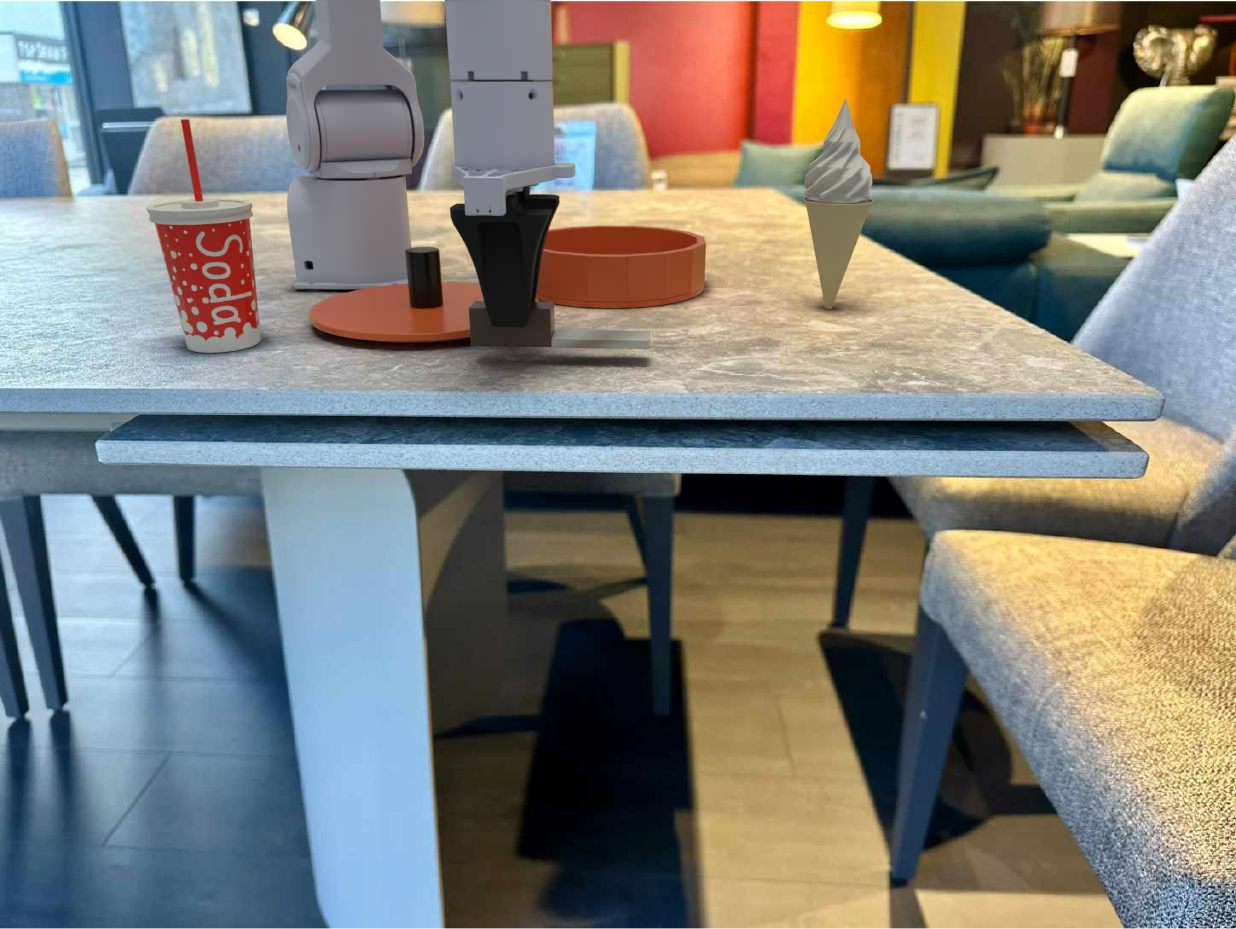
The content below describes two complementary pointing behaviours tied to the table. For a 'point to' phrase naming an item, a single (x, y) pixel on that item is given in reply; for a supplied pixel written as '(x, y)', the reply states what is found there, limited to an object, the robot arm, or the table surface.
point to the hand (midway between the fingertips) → (512, 320)
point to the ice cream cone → (837, 202)
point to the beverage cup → (209, 265)
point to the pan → (621, 266)
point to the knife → (548, 332)
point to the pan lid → (403, 306)
